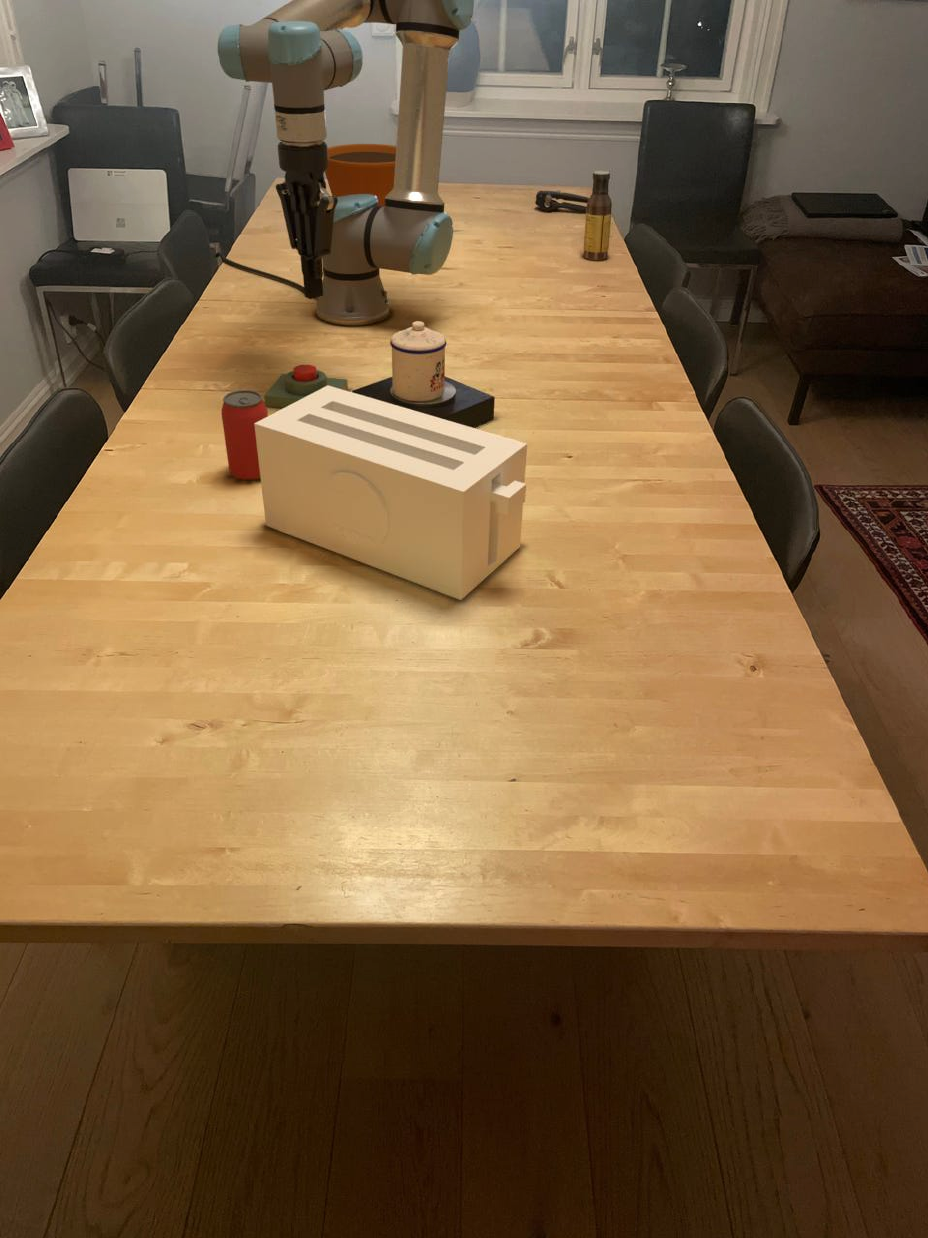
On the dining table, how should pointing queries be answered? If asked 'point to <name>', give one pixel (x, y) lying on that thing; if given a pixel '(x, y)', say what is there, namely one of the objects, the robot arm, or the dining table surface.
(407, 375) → the teacup with lid
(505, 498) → the toaster
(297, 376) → the button
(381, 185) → the flower pot
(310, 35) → the robot arm
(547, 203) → the can opener
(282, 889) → the dining table surface
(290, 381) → the box
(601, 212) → the sauce bottle
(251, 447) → the beer can
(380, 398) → the cup warmer
